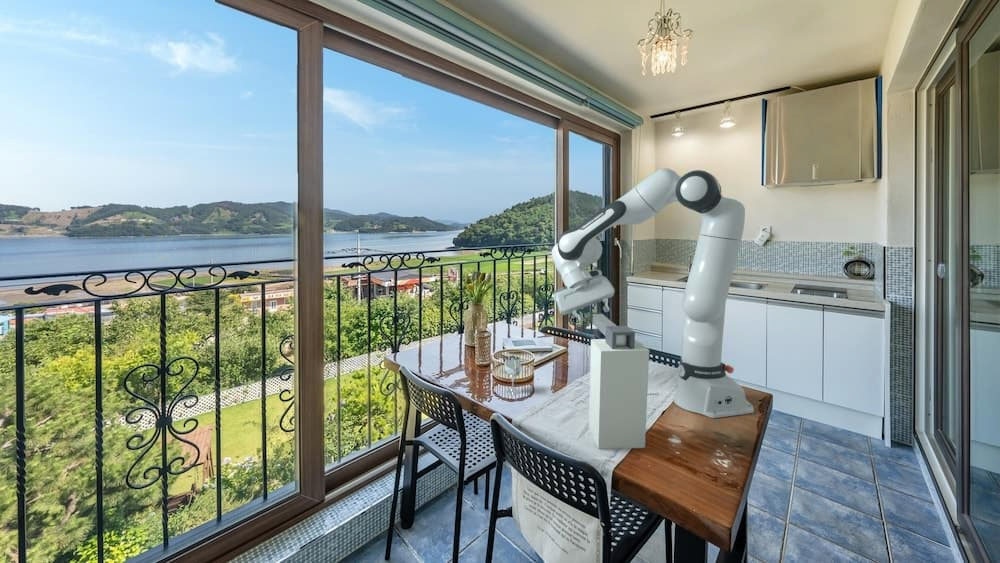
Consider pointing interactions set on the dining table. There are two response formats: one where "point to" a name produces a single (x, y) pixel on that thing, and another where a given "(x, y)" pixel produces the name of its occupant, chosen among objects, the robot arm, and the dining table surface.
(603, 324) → the angular gray block
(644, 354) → the tall white pillar
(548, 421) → the dining table surface
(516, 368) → the wineglass
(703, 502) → the dining table surface
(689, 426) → the dining table surface
